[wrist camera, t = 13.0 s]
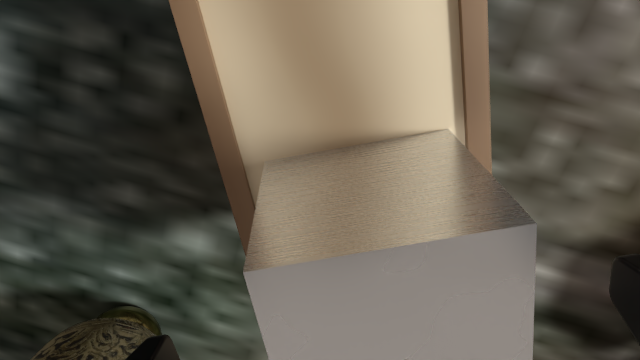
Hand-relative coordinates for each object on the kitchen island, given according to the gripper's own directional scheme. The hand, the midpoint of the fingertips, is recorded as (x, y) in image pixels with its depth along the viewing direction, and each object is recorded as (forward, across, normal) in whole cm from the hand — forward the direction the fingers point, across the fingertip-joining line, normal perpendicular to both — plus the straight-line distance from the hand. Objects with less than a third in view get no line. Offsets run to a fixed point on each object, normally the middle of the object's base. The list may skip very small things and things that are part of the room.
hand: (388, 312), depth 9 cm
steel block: (+4, 0, 0) cm, 4 cm away
